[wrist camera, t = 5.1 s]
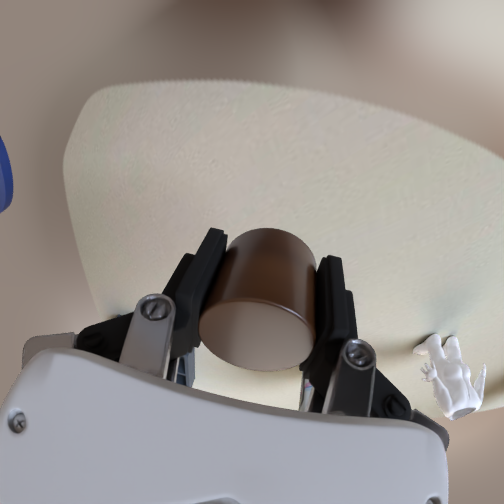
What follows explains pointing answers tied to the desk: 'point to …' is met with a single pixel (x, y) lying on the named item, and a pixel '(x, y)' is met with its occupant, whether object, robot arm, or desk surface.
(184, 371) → the grid
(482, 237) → the desk surface
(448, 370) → the toy creature
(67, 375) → the robot arm
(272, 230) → the cylinder
